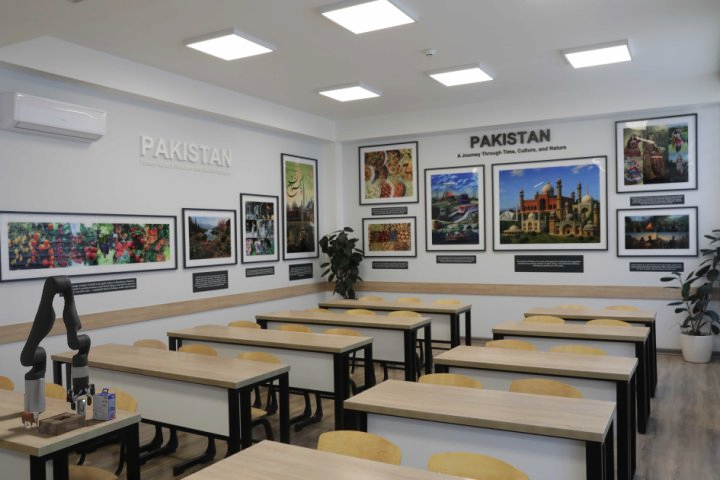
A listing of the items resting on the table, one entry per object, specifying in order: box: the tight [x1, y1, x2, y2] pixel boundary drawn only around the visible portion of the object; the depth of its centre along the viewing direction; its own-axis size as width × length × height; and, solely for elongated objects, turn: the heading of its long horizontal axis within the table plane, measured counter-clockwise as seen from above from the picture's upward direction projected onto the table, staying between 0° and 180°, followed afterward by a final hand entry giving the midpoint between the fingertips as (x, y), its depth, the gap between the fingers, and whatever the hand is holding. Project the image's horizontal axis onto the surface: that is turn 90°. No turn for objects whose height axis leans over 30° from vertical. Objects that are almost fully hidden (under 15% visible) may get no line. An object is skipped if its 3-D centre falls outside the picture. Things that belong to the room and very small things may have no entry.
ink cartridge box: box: [92, 387, 117, 422], centre depth 282 cm, size 10×6×14 cm, turn 72°
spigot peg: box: [75, 398, 87, 418], centre depth 284 cm, size 4×4×9 cm
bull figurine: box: [20, 410, 42, 429], centre depth 271 cm, size 4×13×8 cm, turn 58°
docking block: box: [38, 411, 87, 436], centre depth 268 cm, size 14×14×5 cm
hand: (81, 407), depth 284 cm, fingers open, 8 cm apart
